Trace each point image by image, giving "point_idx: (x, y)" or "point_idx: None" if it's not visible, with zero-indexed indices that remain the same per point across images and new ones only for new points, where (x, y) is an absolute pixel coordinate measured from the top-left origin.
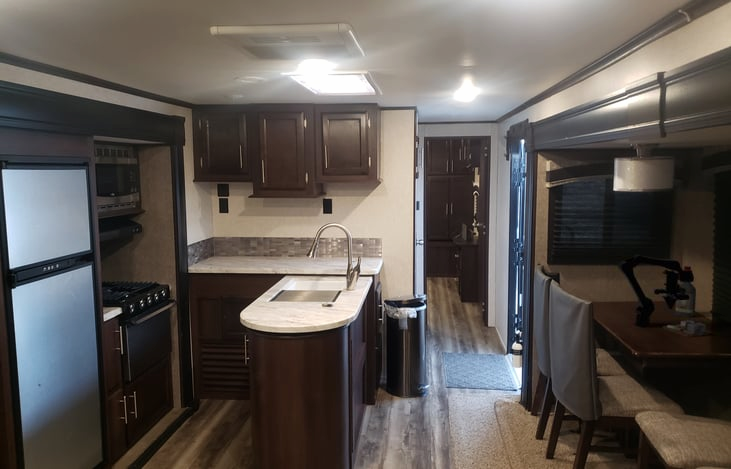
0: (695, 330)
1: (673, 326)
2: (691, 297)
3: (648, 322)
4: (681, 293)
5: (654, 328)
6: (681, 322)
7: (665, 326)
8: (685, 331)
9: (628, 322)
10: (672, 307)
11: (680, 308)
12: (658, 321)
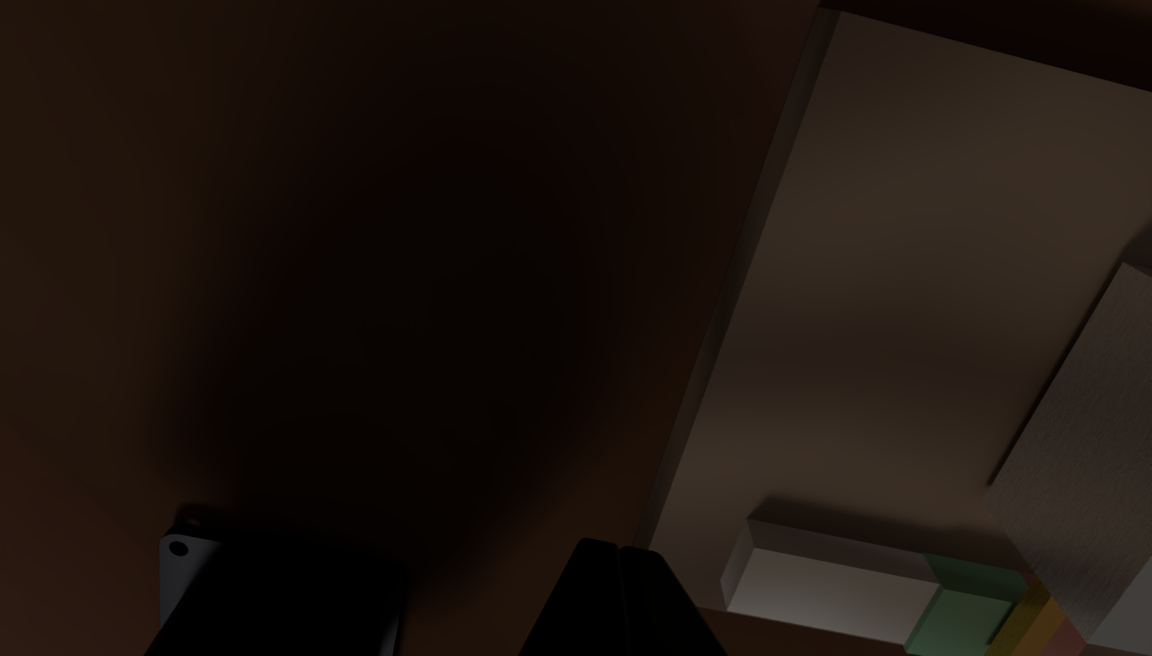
0: None
1: (862, 593)
2: None
3: (328, 627)
4: None
5: (524, 622)
6: (1086, 617)
7: (675, 566)
8: None
9: (14, 631)
10: (703, 651)
11: None
12: (127, 21)
